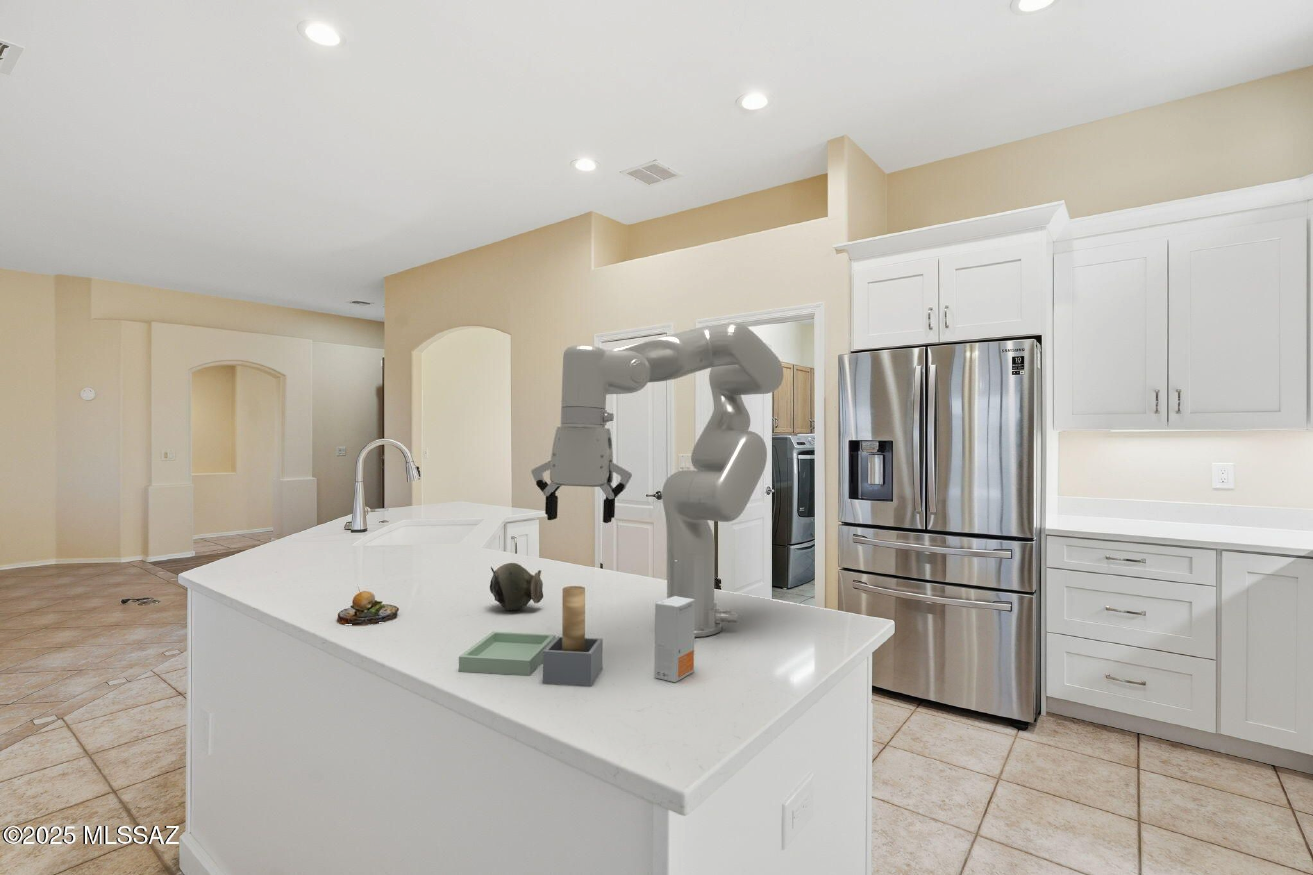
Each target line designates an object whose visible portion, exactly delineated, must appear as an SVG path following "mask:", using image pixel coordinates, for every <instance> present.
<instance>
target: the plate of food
mask: <svg viewBox="0 0 1313 875" xmlns="http://www.w3.org/2000/svg"><path fill="white" fill-rule="evenodd" d="M357 588H358V590H359V592H358V593H356V594H355V595H354V596H353V598H352V602H351V603H352V604H351V605H350V606H349V607H348V608H344V609H342V610H340V611H339V612H338V613H337V623H338V622H339V623H338V624H342V625H343V624H352V626H351V625H350V627H353V626H354V627H357V626H358V627H360V626H368V625H367V624H373V625H379V622H384V623H387V622H390V621H393V620H396V619H397V617H398V612H399V611H400V608H399V607H398V606H396V605H392V604H383V600H380V601H379V600H377V599H376V596H375V594H374V593H373V592H371V591H369V590H368V591H367V590H364V591H360V588H359V587H358V586H357Z"/></svg>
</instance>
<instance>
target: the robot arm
mask: <svg viewBox="0 0 1313 875" xmlns="http://www.w3.org/2000/svg"><path fill="white" fill-rule="evenodd" d="M707 369H710V370H709V374H708V381H709V382H708V383H709V386H710V392H711V395H712V401H713V411H712V413H711V416H710V417H709V420H708V421H707V423H706V424H705V427H704V428H703V430H702V432H701V434H700V435H699V437H698V439H697V441H696V442H695V444H694V446H693V449H692V450H691V451H692V452H691V456H690V462H691V464H692V466H693V468H694V470H691V469H690V470H689V469H688V470H680V471H679V470H678V471H676V472H673V473H672V474H671V475H669V476H668V477H667V479H666V480H665V481H664V483H663V486H662V493H661V499H662V500H661V501H662V505H663V511H664V516H665V523H666V524H665V525H666V599H667V598H671V597H673V596H678V597H683V598H690V599H695V636H694V638H699V637H701V638H702V637H708V636H712V635H716V634H718V633H720V632H721V631H722V630H723V629H722V628H723V623H724V622H725V623H733V624H737V622H738V620H737V619H738V614H737V612H732V611H731V610H720V608H717V602H715V551H716V550H715V547H716V546H715V545H716V544H715V537H714V533H713V529H712V527H711V525H710V524H709V521H712V522H719V523H720V522H722V523H729V522H733V521H735V520H737V519H738V518H739V517H740V516H741V515H742V514H743V512H744V511H745V509H746V507H747V506H748V504H749V501H750V500H751V497H752V496H753V494H754V491H755V490H756V487H757V485H758V483H759V481H760V480H761V477H762V475H763V473H764V471H765V468H766V464H767V460H768V459H767V458H768V457H767V456H768V452H767V451H768V448H767V445H766V442H765V440H764V439H763V437H762V436H761V435H760V434H759V433H757V432H755V431H752V430H750V427H751V416H750V414H749V411H748V409H747V407H746V405H745V403H744V400H743V398H742V396H747V395H748V396H749V395H767V394H771V393H773V392H775V391H777V390H778V389H779V388H780V387H781V386H782V383H783V380H784V367H783V365H782V362H781V360H780V358H779V357H778V356H777V355H776V353H774V351H773V350H772V349H771V348H770V347H769V345H767V344H766V343H765V341H764V340H762V339H761V338H760V336H758V335H757V334H756V333H755V332H754V331H753V330H751V329H750V328H749V327H748V326H746V325H744V324H742V323H740V322H738V321H737V322H736V321H735V322H727V323H720V324H712V325H706V326H701V327H697V328H693V329H689V330H688V329H687V330H683V331H680V332H677V333H673V334H669V335H665V336H664V335H663V336H660V337H657V338H656V337H655V338H651V339H648V340H645V341H643V342H638V343H634V344H631V345H627V346H623V347H619V348H614V349H610V350H609V349H603V347H602V348H601V347H599V346H595V345H594V346H593V345H584V344H583V345H581V344H580V345H579V344H578V345H571V346H569V347H567V348H565V350H564V351H563V356H562V376H561V378H562V379H561V381H562V382H561V401H560V402H561V409H560V426H556V429H555V433H554V438H553V443H552V450H551V454H550V460H549V461H546V462H545V463H542V464H540V465H538V466H537V467H535V468H532V469H531V475H532V477H533V479H534V481H535V484H536V486H537V488H538V489H539V490H540V491H541V492H542V493H543V496H545V503H544V504H545V507H544V514H545V515H546V516H547V517H546V519H547V521H552V520H556V519H558V510H559V509H558V507H559V497H558V495H557V492H558V491H559V489H560V488H561V487H562V486H564V487H587V488H588V487H589V488H591V487H592V488H593V487H594V488H597V487H598V488H600V490H601V491H602V492H603V494H604V495H605V498H604V499H603V508H602V509H603V510H602V522H603V523H604V524H608V523H611V522H612V520H613V519H614V518H615V515H616V514H615V513H616V511H615V510H616V499H617V498H618V496H619V495H620V494H621V493H622V492H624V490H626V488H627V485H628V484H629V483H630V481H631V479H632V476H633V474H632V472H630V471H629V470H627V469H625V468H623V467H622V466H620V465H618V464H617V463H614V456H613V455H614V454H613V453H614V452H613V442H612V441H613V440H612V433H611V429H610V428H606V425H607V423H609V422H614V418H615V415H614V413H612V412H608V410H607V409H606V408H607V395H625V394H626V395H627V394H633V393H638V392H639V391H641V390H642V389H644V388H645V387H646V386H647V384H649V383H659V382H660V383H661V382H666V381H670V380H671V381H673V380H677V379H679V378H682V377H686V376H688V375H692V374H695V373H697V372H701V371H705V370H707ZM546 472H549V479H550V480H549V481H550V483H548V482H547V481H546V480H545V479H544V478H545V477H544V476H543V475H544V473H546ZM614 473H615V474H617V476H620V479H619V482H617V484H616V485H615V486H614V487H613V484H612V483H613V481H614Z"/></svg>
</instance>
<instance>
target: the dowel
mask: <svg viewBox="0 0 1313 875" xmlns="http://www.w3.org/2000/svg"><path fill="white" fill-rule="evenodd" d="M561 596H562V599H561V600H562V604H561V605H562V607H561V608H562V615H561V620H562V622H561V623H562V624H561V625H562V631H561V633H562V634H561V635H562V636H561V637H562V651H574V652H585V638H586V587H584V586H580V585H572V586H565V587H563V588H562V595H561Z"/></svg>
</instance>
